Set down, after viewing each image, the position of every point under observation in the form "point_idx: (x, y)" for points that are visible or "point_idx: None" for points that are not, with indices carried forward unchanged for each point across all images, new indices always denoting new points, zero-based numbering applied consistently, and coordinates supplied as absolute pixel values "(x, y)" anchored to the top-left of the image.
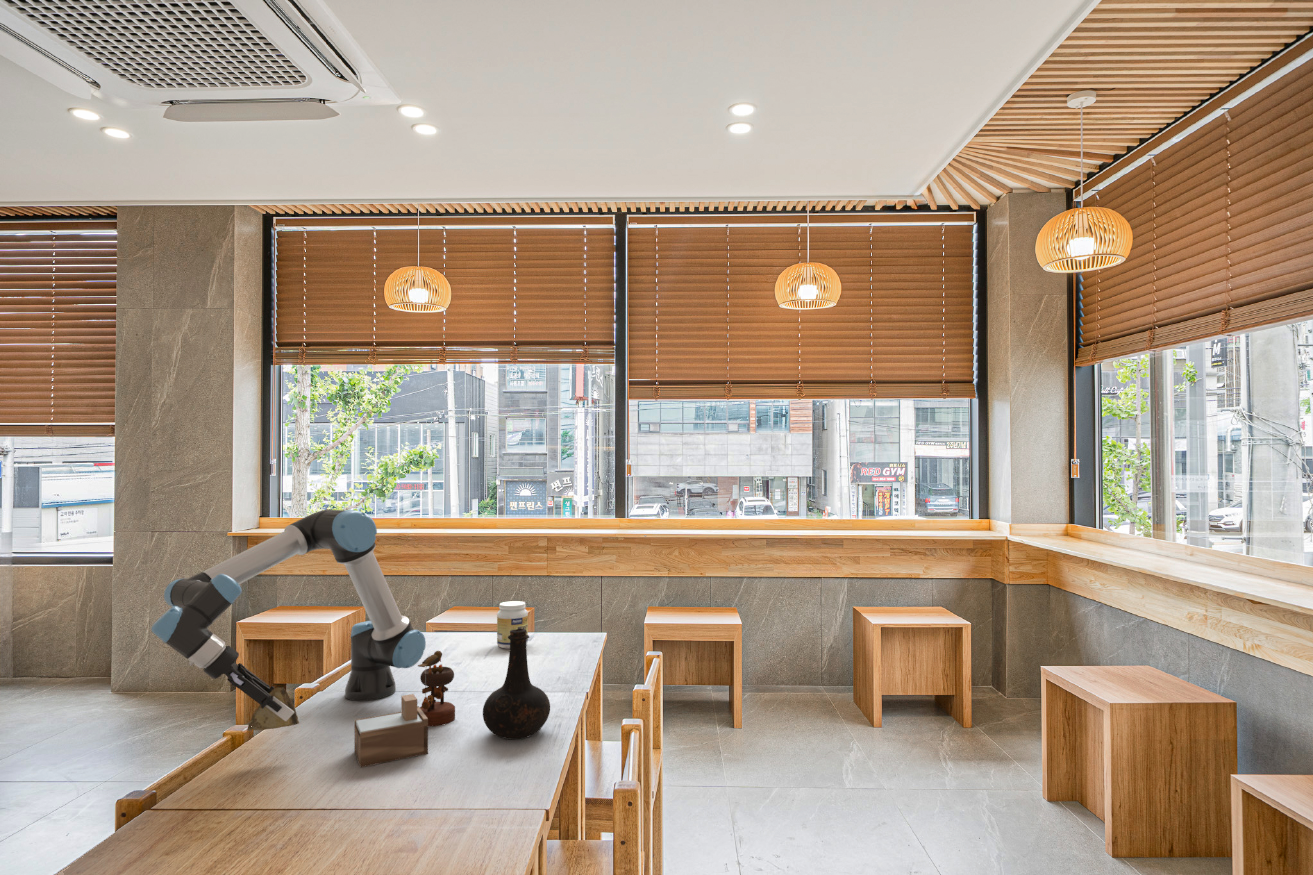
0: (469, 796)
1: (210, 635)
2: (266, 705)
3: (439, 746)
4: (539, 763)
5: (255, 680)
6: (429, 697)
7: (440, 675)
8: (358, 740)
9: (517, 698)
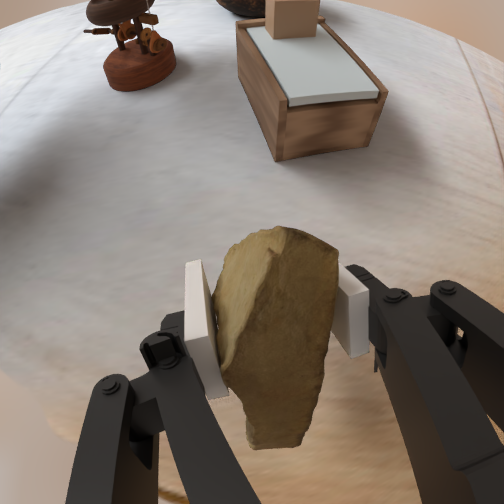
0: (447, 61)
1: None
2: (367, 344)
3: None
4: (360, 11)
5: (252, 493)
6: (145, 33)
7: None
8: (349, 115)
9: None
